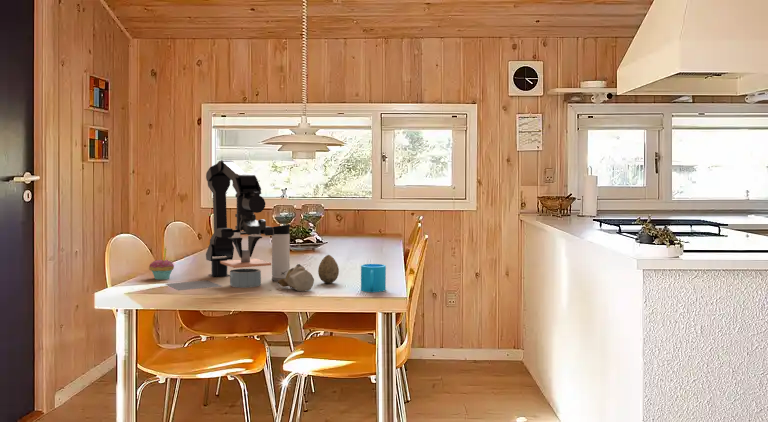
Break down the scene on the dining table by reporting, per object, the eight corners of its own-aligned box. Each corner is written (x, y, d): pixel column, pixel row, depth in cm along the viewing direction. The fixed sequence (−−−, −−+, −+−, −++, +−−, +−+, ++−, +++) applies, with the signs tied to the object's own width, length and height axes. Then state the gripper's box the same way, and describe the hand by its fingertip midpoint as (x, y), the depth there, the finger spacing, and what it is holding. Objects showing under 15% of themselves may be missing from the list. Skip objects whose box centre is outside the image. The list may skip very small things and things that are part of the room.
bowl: (226, 285, 241) (226, 269, 241) (253, 282, 247) (253, 267, 247) (237, 289, 233) (237, 273, 233) (265, 286, 238) (265, 271, 238)
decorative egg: (320, 285, 243) (320, 256, 242) (316, 282, 250) (316, 253, 249) (340, 284, 245) (340, 255, 244) (336, 281, 252) (336, 253, 251)
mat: (164, 284, 241) (164, 283, 241) (207, 281, 250) (207, 280, 250) (178, 291, 229) (178, 290, 229) (222, 287, 237) (222, 286, 237)
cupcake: (179, 278, 256) (178, 245, 255) (164, 281, 248) (164, 247, 247) (159, 277, 259) (158, 244, 258) (143, 280, 251) (143, 246, 250)
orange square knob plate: (220, 263, 241) (220, 249, 241) (255, 260, 248) (255, 247, 248) (234, 268, 231) (234, 253, 230) (271, 265, 238) (271, 251, 237)
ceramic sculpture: (291, 266, 226) (274, 263, 239) (291, 293, 226) (274, 289, 239) (321, 264, 231) (303, 262, 244) (322, 291, 231) (304, 287, 244)
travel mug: (287, 281, 250) (287, 225, 249) (269, 281, 251) (269, 224, 250) (292, 279, 256) (292, 223, 255) (275, 278, 257) (275, 223, 256)
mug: (362, 287, 239) (362, 263, 238) (386, 288, 238) (386, 264, 238) (358, 294, 227) (358, 268, 226) (384, 294, 226) (384, 269, 226)
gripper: (227, 213, 227) (227, 261, 228) (280, 211, 237) (280, 258, 238) (215, 211, 236) (215, 257, 237) (267, 210, 246) (267, 254, 247)
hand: (245, 257), depth 239 cm, fingers closed on orange square knob plate, 3 cm apart
